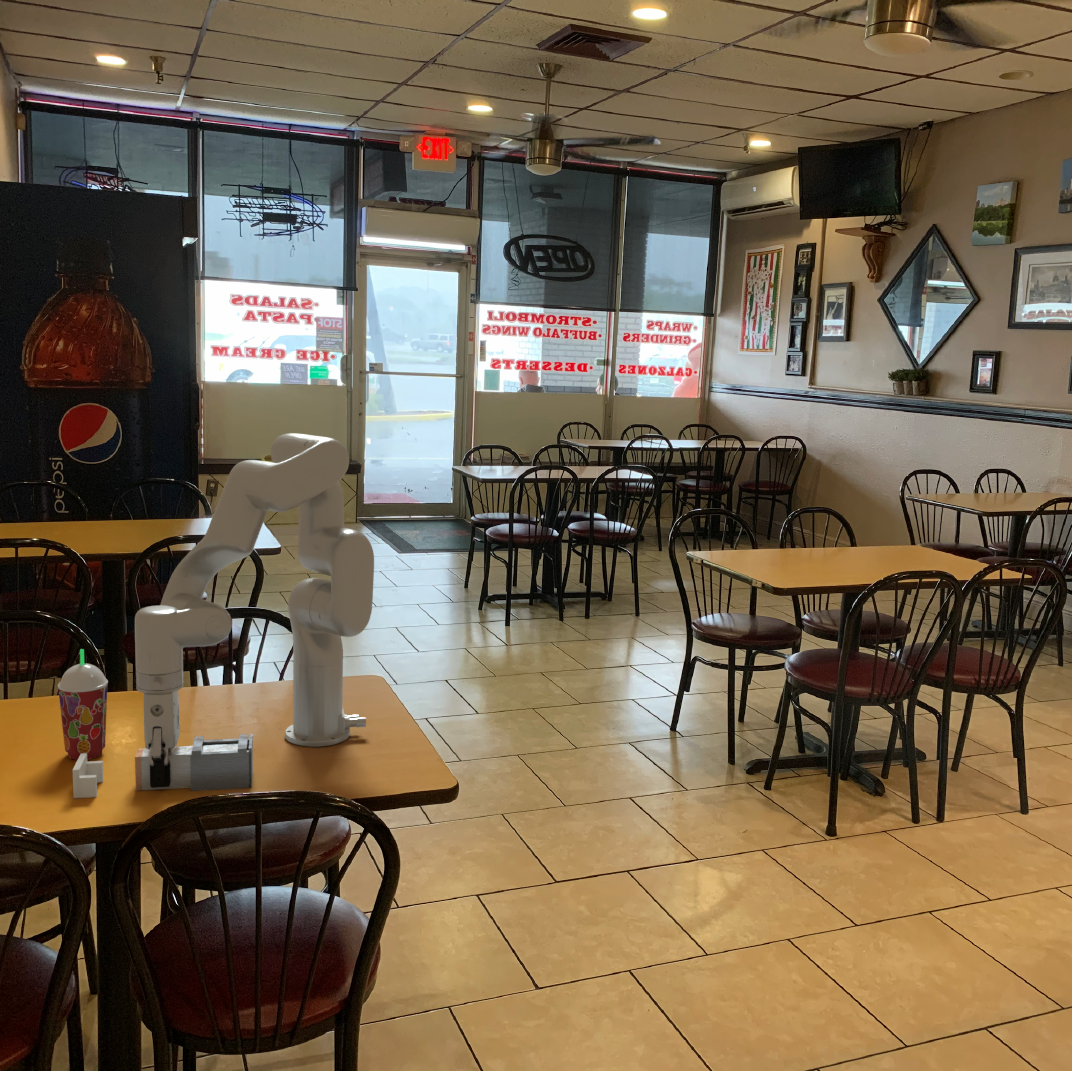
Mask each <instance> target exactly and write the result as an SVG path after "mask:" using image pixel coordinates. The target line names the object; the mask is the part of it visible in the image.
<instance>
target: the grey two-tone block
mask: <svg viewBox="0 0 1072 1071" xmlns="http://www.w3.org/2000/svg"><path fill="white" fill-rule="evenodd" d="M192 748H193V745H186V746H185V745H183V746H181V745H180V746H179V745H178V746H176V747H175V748H174V749H172V748H168V763H170V786H169V787H157V788H152V787H150V750H148V749H146V747H142V748H137V751H136V752H135V756H134V767H135V768H134V772H135V773H134V775H135V791H156V790H169V789H189V788H190V789H191V770H190V754H191V753H192ZM150 749H151V748H150ZM237 750H238V744H221V745H203V747H202V752H217V751H237ZM161 752H162V754H164V751H161Z"/></svg>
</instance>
